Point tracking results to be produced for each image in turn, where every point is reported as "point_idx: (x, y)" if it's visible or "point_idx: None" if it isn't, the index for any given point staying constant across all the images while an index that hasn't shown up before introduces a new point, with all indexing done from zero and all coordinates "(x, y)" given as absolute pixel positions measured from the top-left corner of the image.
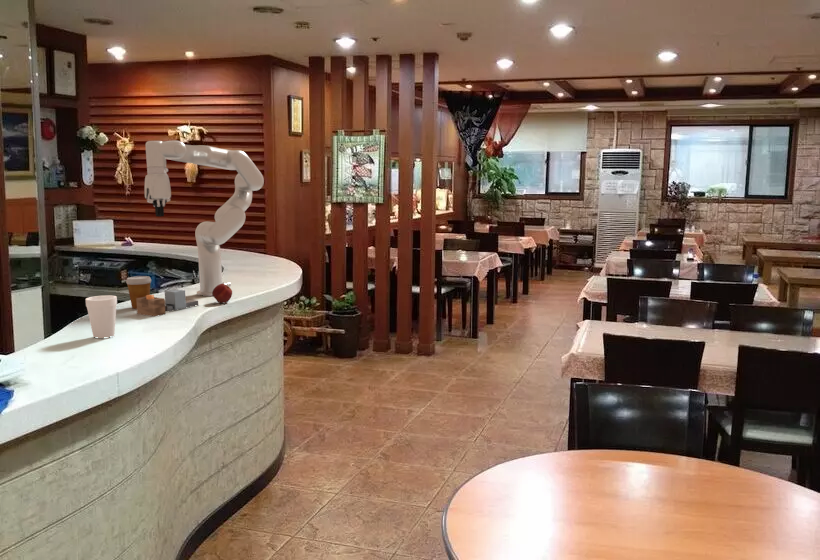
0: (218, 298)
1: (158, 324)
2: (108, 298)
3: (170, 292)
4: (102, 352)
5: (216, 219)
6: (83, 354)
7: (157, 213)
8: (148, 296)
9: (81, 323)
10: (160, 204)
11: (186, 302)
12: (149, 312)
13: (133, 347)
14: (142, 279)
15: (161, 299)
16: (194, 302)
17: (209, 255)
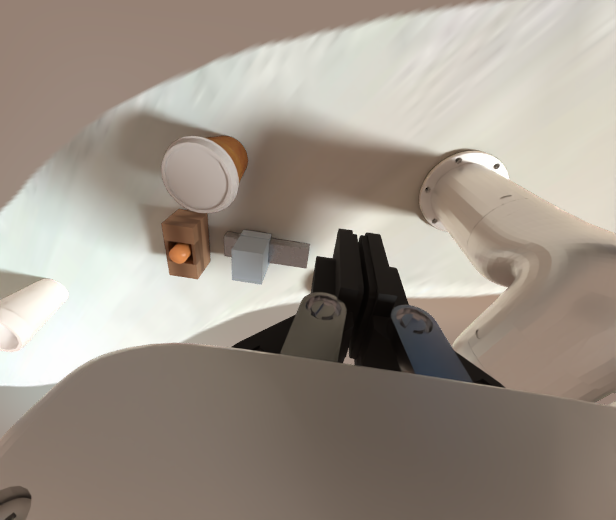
0: None
1: (152, 302)
2: (15, 327)
3: (232, 266)
4: None
5: None
6: None
7: (312, 284)
8: (170, 258)
9: (52, 176)
10: (380, 361)
11: (278, 260)
12: None
13: (66, 350)
14: (190, 209)
15: (190, 277)
16: (296, 265)
17: (478, 270)
